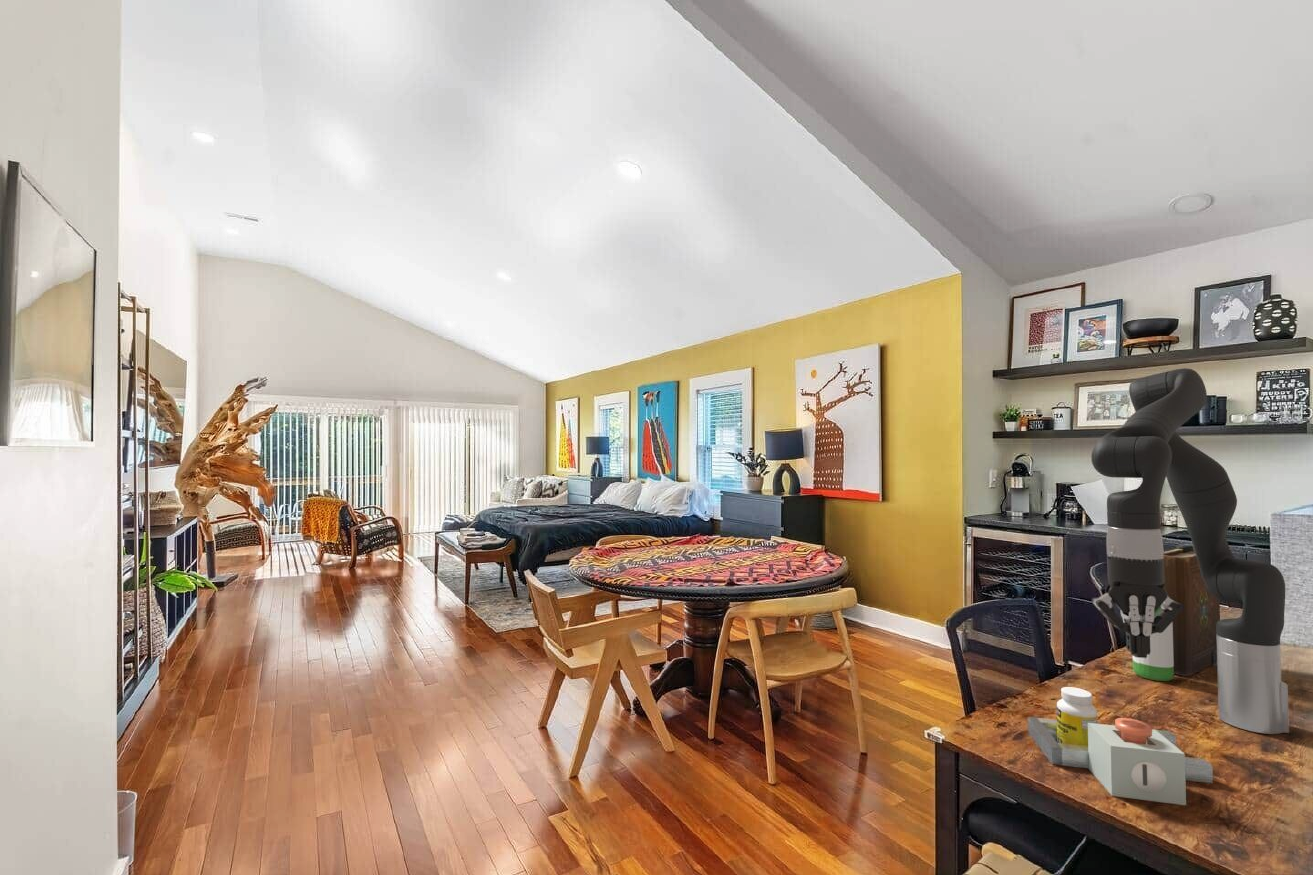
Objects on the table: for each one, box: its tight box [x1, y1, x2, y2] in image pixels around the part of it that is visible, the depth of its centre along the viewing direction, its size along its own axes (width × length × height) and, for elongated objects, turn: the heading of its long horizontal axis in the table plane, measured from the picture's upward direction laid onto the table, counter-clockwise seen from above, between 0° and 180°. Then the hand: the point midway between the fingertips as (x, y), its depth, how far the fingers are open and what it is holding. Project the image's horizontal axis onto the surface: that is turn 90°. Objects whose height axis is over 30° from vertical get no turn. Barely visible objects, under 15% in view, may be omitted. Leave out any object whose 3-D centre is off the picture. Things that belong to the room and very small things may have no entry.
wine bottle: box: [1132, 596, 1175, 682], centre depth 146 cm, size 8×8×30 cm
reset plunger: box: [1114, 717, 1153, 744], centre depth 98 cm, size 5×5×4 cm
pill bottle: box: [1056, 686, 1099, 746], centre depth 109 cm, size 6×6×11 cm
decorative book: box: [1163, 543, 1221, 677], centre depth 153 cm, size 23×7×30 cm, turn 122°
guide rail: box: [1027, 716, 1214, 784], centre depth 108 cm, size 24×12×3 cm, turn 75°
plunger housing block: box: [1088, 723, 1187, 806], centre depth 98 cm, size 10×9×8 cm
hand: (1138, 655), depth 100 cm, fingers closed
